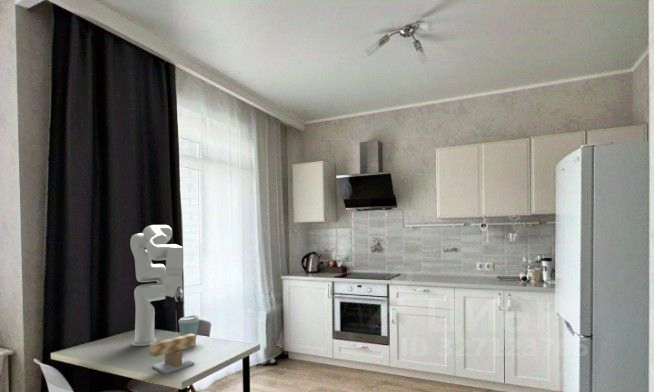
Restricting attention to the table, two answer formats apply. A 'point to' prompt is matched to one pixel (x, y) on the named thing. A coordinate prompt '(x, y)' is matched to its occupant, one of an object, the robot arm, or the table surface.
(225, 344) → the table surface
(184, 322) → the disposable coffee cup
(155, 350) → the oak bar
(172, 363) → the stand
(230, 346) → the table surface
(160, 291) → the robot arm
